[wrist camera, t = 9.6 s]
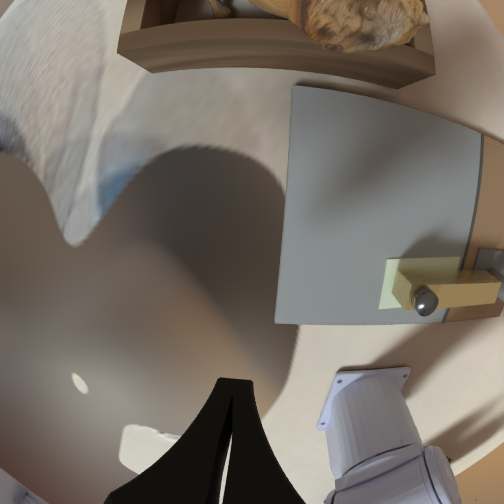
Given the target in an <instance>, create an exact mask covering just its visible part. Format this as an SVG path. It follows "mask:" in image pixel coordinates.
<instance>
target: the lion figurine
mask: <svg viewBox="0 0 504 504" xmlns="http://www.w3.org/2000/svg"><path fill="white" fill-rule="evenodd" d="M208 1H209V3H210V4H211V7H212V10H213V14H214V16H215V18H216V19H229V18H230V17H231V16H232V11H231V10H230V9H229V8H228V7H226V6H225V5H224V4H223V3H222V2H221V0H208ZM249 1H250V2H251V3H253V4H254V5H256V6H257V7H259V8H260V9H262V10H264V11H266V12H268V13H270V14H273V15H275V16H277V17H280V18H282V19H285V20H291V21H292V22H293V23H294V24H296V25H297V26H299V27H300V29H301V31H303V33H304V34H305V35H307V36H308V37H309V38H311V39H313V40H315V41H320V42H321V43H322V44H323V49H324V50H326V51H332V50H335V49H337V48H338V47H342V48H341V49H340V51H341V52H342V53H352V52H357V51H364V50H377V49H380V48H381V49H386V48H388V47H391V46H392V45H396V46H399V45H402V44H405V43H408V42H409V41H410V39H411V38H412V37H414V36H415V35H416V32H417V30H418V29H420V28H421V27H423V26H424V25H425V24H427V23H429V21H430V20H429V16H428V15H427V14H426V13H425V12H424V11H423V3H422V2H421V1H420V0H249ZM328 45H333V47H331V48H328V49H327V47H328Z"/></svg>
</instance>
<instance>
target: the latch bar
mask: <svg viewBox="0 0 504 504" xmlns="http://www.w3.org/2000/svg"><path fill="white" fill-rule="evenodd" d="M501 284H502V282H501V281H499V280H498V279H497V278H495V277H494V276H493V275H491V274H490V273H489V272H487V271H486V270H417V269H397V270H396V275H395V279H394V283H393V288H392V292H391V293H392V294H393V296H394V297H395V298H396V300H397V301H398V302H399V304H400V305H401V306H402V308H403V309H404V310H416V311H417V312H418V314H419V315H420V316H423V317H425V316H429V315H430V314H432V313H433V312H434V311H435V310H436V309H437V308H450V307H462V306H473V305H482V304H491V303H495V301H496V298H497V296H498V293H499V290H500V287H501Z"/></svg>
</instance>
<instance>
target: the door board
mask: <svg viewBox="0 0 504 504" xmlns="http://www.w3.org/2000/svg"><path fill="white" fill-rule="evenodd" d="M397 269H417V270H486V271H487V272H489V273H490V274H491V275H493V276H494V277H495V278H497V279H498V280H499V281H501V282H502V284H501V287H500V290H499V293H498V296H497V298H496V301H495V303H491V304H482V305H473V306H462V307H450V308H437V309H436V310H435V311H434V312H433V313H432V314H430V315H429V316H425V317H423V316H420V315H419V314H418V312H417V311H416V310H404V309H403V308H402V306H401V305H400V304H399V302H398V301H397V300H396V298H395V297H394V296H393V294H392V293H391V292H392V288H393V283H394V279H395V275H396V270H397ZM503 306H504V144H502V143H500V142H498V141H496V140H494V139H492V138H490V137H487V136H485V135H484V134H481V133H479V132H476V131H474V130H472V129H469V128H467V127H465V126H462V125H460V124H457V123H455V122H452V121H449V120H447V119H444V118H441V117H438V116H435V115H433V114H430V113H427V112H423V111H420V110H417V109H414V108H410V107H407V106H403V105H400V104H396V103H392V102H388V101H384V100H380V99H376V98H371V97H367V96H362V95H357V94H352V93H346V92H341V91H335V90H328V89H321V88H314V87H305V86H296V85H293V86H292V95H291V117H290V136H289V153H288V169H287V184H286V198H285V211H284V223H283V236H282V247H281V258H280V269H279V280H278V290H277V300H276V310H275V323H281V324H282V323H283V324H306V325H394V324H418V323H435V322H442V323H444V322H449V321H461V320H471V319H481V318H489V317H497V316H500V314H501V311H502V309H503Z"/></svg>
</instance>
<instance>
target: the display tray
mask: <svg viewBox="0 0 504 504" xmlns="http://www.w3.org/2000/svg"><path fill="white" fill-rule="evenodd" d="M420 1H421V2H422V3H423V11H424V12H425V13H426V14H427V9H426V5H425V0H420ZM177 5H178V0H128V1H127V4H126V8H125V13H124V17H123V22H122V26H121V31H120V36H119V42H118V48H117V53H118V54H120V55H121V56H123V57H125V58H127V59H129V60H130V61H132V62H134V63H136V64H137V65H139V66H141V67H142V68H144V69H146V70H147V71H149V72H151V73H158V72H166V71H175V70H185V69H199V68H224V67H248V68H273V69H287V70H297V71H307V72H315V73H322V74H329V75H335V76H341V77H346V78H351V79H356V80H361V81H366V82H370V83H375V84H379V85H383V86H387V87H390V88H394V89H399V88H402V87H404V86H407V85H409V84H412V83H414V82H417V81H419V80H422V79H425V78H427V77H430V76H433V75H435V64H434V54H433V45H432V38H431V31H430V25H429V23H427V24H425V25H424V26H423V27H421V28H420V29H418V30H417V32H416V35H415V36H414V37H412V38H411V39H410V41H409V42H408V43H405V44H402V45H399V46H396V45H392V46H391V47H388V48H386V49H381V48H380V49H377V50H364V51H357V52H352V53H342V52H341V51H340V49H341V48H342V47H338V48H337V49H335V50H332V51H326V50H324V49H323V44H322V43H321V42H320V41H315V40H313V39H311V38H309V37H308V36H307V35H305V34H304V33H303V31H301V29H300V27H299V26H297V25H296V24H294V23H293V22H292V21H291V20H278V19H254V18H235V19H212V20H199V21H189V22H181V23H175V17H176V11H177ZM427 15H428V14H427ZM331 47H333V45H328V47H327V49H328V48H331Z"/></svg>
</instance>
